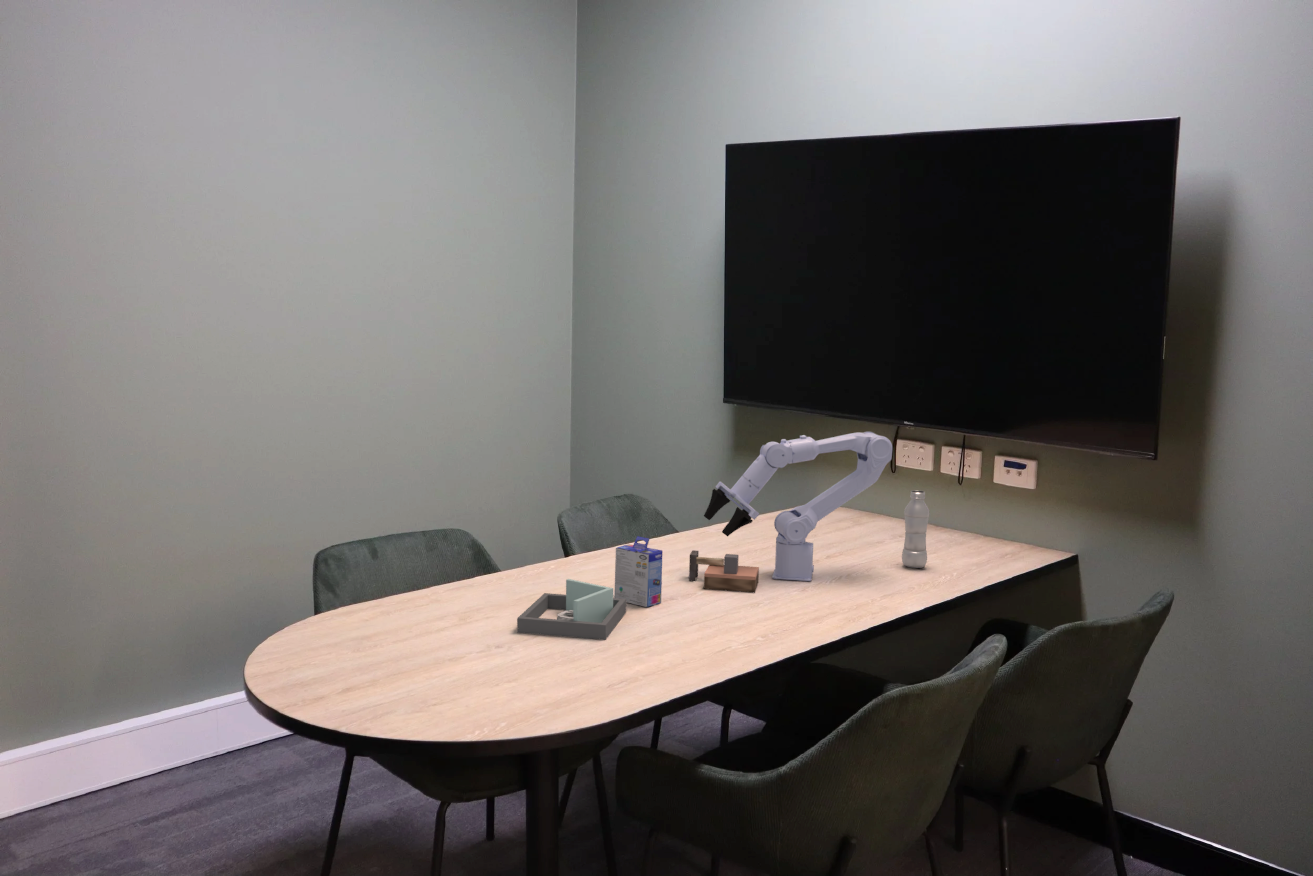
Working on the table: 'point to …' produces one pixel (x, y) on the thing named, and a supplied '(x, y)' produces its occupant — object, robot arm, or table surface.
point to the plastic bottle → (915, 531)
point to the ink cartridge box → (638, 574)
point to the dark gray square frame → (567, 628)
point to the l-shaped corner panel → (586, 602)
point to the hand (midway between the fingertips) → (715, 526)
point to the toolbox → (721, 579)
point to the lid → (732, 569)
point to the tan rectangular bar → (709, 561)
